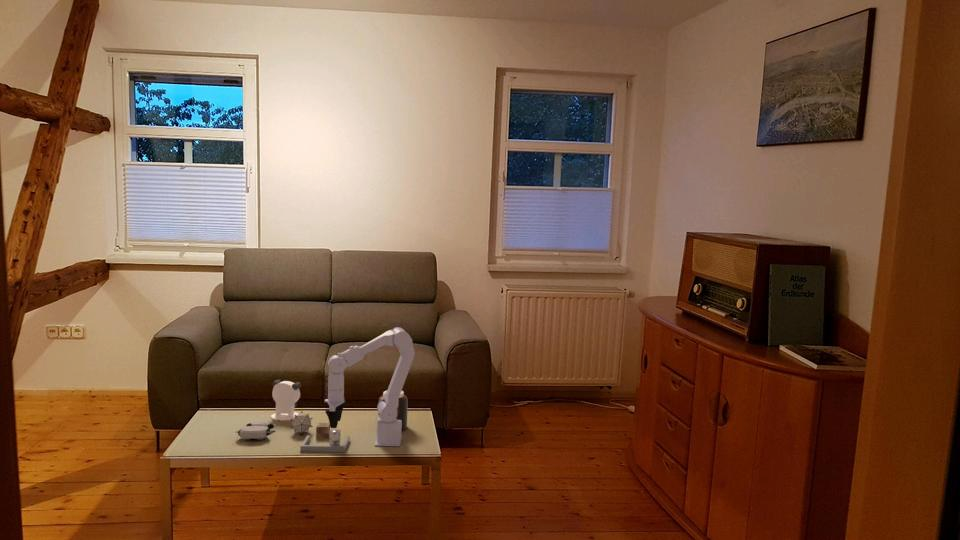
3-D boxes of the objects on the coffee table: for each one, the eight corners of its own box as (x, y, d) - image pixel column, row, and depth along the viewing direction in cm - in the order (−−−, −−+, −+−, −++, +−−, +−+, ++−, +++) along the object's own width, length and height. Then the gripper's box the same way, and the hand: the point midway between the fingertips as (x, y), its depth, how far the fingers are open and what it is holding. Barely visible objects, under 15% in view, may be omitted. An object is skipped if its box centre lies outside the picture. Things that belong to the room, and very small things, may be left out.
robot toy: (245, 431, 241) (234, 442, 226) (245, 420, 241) (234, 430, 226) (277, 431, 242) (267, 442, 228) (277, 420, 242) (268, 430, 228)
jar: (404, 433, 243) (405, 397, 241) (375, 432, 243) (376, 395, 241) (408, 423, 254) (409, 388, 253) (380, 422, 255) (381, 387, 253)
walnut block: (330, 434, 239) (330, 423, 239) (327, 438, 235) (328, 427, 235) (318, 433, 239) (318, 422, 239) (316, 438, 235) (316, 426, 234)
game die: (298, 443, 238) (284, 427, 233) (298, 429, 245) (284, 412, 240) (318, 433, 238) (304, 416, 233) (318, 418, 245) (305, 402, 240)
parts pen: (349, 441, 233) (349, 435, 233) (344, 452, 222) (345, 446, 222) (307, 440, 232) (307, 435, 232) (300, 451, 221) (300, 446, 221)
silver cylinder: (340, 444, 229) (340, 429, 228) (339, 448, 225) (340, 433, 224) (329, 444, 228) (330, 429, 228) (328, 449, 224) (328, 433, 224)
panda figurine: (305, 413, 262) (306, 379, 260) (291, 422, 251) (291, 386, 250) (280, 410, 265) (281, 376, 263) (265, 418, 254) (265, 383, 252)
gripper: (328, 382, 232) (328, 417, 233) (321, 393, 217) (320, 430, 218) (347, 383, 232) (347, 417, 233) (341, 394, 218) (340, 431, 219)
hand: (335, 424), depth 226 cm, fingers open, 7 cm apart
